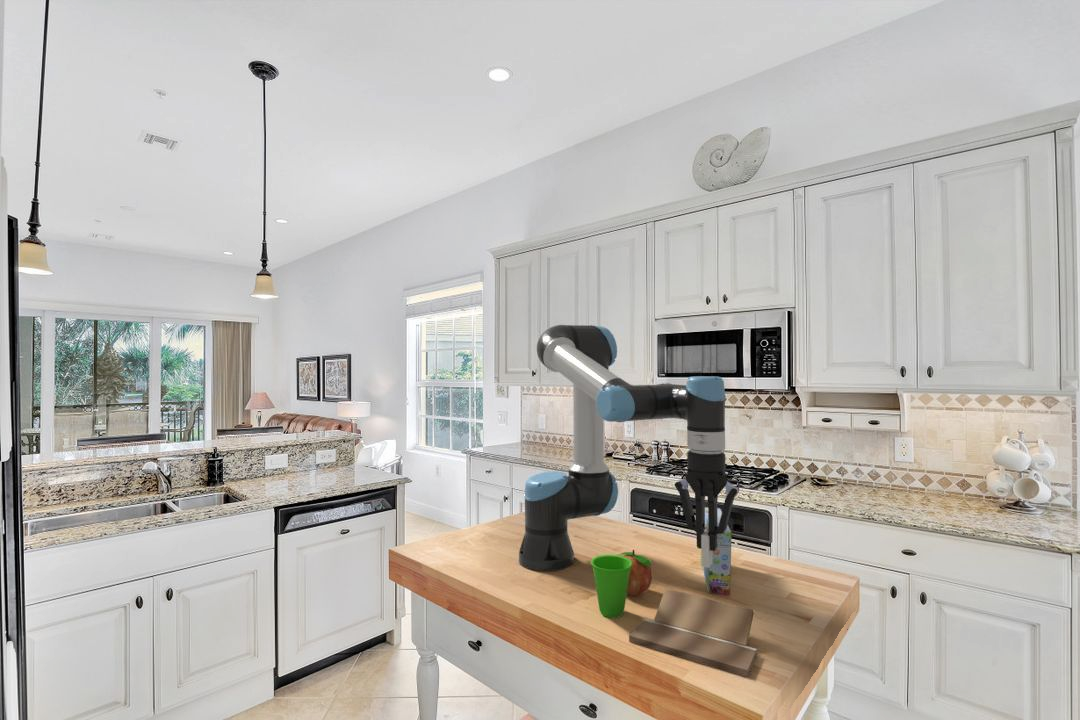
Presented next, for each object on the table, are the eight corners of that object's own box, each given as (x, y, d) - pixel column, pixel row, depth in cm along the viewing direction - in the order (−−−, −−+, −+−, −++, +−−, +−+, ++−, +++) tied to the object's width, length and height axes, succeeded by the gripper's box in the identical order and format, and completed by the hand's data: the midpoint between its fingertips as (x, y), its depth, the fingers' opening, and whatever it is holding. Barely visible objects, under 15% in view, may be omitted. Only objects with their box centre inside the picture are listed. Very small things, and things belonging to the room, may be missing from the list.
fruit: (631, 604, 120) (630, 559, 120) (606, 588, 129) (606, 546, 129) (661, 596, 124) (660, 553, 124) (635, 581, 133) (635, 541, 133)
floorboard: (629, 641, 104) (629, 634, 104) (644, 624, 111) (644, 618, 111) (747, 677, 92) (747, 669, 92) (756, 655, 99) (756, 648, 99)
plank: (654, 625, 110) (653, 621, 110) (666, 592, 116) (665, 588, 116) (746, 650, 101) (745, 646, 100) (753, 613, 107) (753, 609, 106)
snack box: (733, 596, 124) (732, 531, 124) (707, 594, 125) (707, 530, 125) (721, 562, 145) (720, 506, 145) (699, 561, 146) (699, 505, 146)
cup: (587, 603, 120) (587, 555, 120) (627, 602, 121) (626, 553, 121) (595, 623, 111) (594, 570, 111) (637, 621, 112) (637, 569, 112)
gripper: (669, 450, 111) (670, 564, 111) (734, 456, 104) (735, 577, 104) (680, 445, 117) (681, 553, 117) (743, 450, 110) (743, 565, 110)
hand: (707, 564), depth 111 cm, fingers closed
